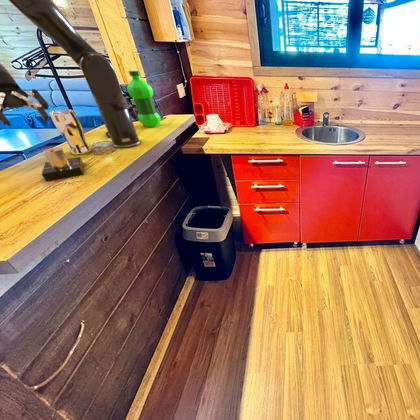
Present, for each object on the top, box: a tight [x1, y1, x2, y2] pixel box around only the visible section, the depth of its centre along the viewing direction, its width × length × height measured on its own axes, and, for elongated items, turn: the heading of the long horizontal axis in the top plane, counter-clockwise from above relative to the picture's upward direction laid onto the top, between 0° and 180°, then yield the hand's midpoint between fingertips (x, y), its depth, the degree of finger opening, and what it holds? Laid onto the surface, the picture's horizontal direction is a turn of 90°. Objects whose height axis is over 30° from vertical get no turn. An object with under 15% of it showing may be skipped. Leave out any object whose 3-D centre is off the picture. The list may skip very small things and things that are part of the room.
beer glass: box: [49, 109, 92, 155], centre depth 96 cm, size 7×7×15 cm
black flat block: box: [41, 156, 84, 182], centre depth 84 cm, size 11×9×3 cm
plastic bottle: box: [126, 70, 162, 128], centre depth 125 cm, size 10×10×25 cm
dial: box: [42, 147, 71, 169], centre depth 81 cm, size 4×4×6 cm
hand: (28, 121), depth 81 cm, fingers open, 8 cm apart
